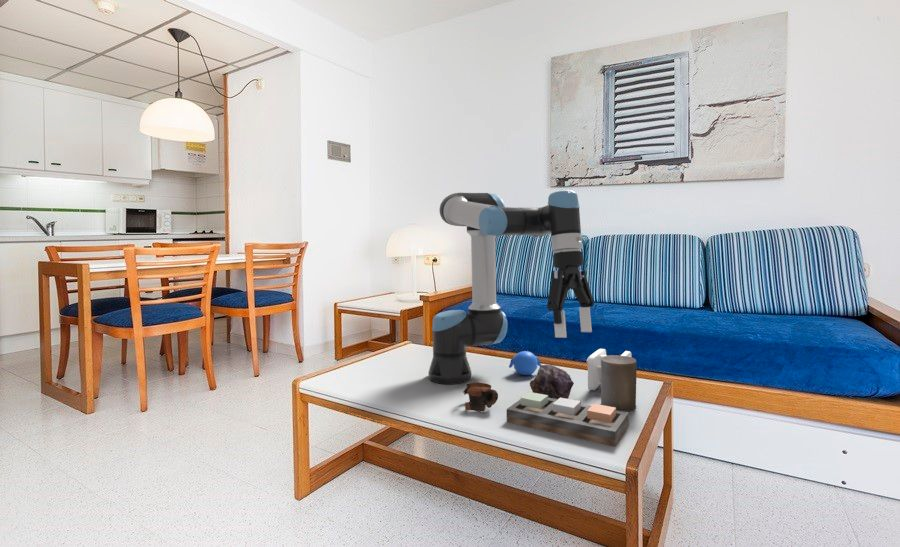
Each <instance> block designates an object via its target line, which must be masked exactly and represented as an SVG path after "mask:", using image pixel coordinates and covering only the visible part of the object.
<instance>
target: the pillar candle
mask: <svg viewBox="0 0 900 547" xmlns="http://www.w3.org/2000/svg"><path fill="white" fill-rule="evenodd" d="M621 355H622V354H619V355H617V354H616V355H614V354H612V355H611V354H610V355H606V356H604V357H602V358H601V385H600V405H604V406H610V407H615V408H616V410H618V411H624V412H631V411H634V410H636V409H637V359H636V358H634V357H632V356H631V357H628V356H621Z"/></svg>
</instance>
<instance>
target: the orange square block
mask: <svg viewBox="0 0 900 547" xmlns="http://www.w3.org/2000/svg"><path fill="white" fill-rule="evenodd" d="M615 416H616V408H615V407H610V406H604V405H602V404H598V403H593V404H592V405H591V407H590V408H589V409H588V410H587V418H588V419H593V420H598V421H603V422H608V423H611V421H612V420H613V419H614V417H615Z"/></svg>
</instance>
